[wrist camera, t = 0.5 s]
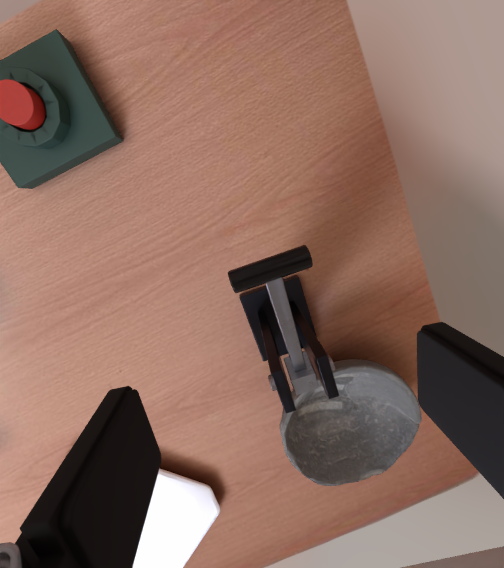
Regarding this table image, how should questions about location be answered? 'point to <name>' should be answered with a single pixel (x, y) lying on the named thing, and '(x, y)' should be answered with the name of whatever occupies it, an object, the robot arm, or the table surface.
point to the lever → (281, 306)
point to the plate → (175, 521)
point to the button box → (54, 114)
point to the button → (20, 105)
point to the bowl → (351, 424)
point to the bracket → (273, 342)
